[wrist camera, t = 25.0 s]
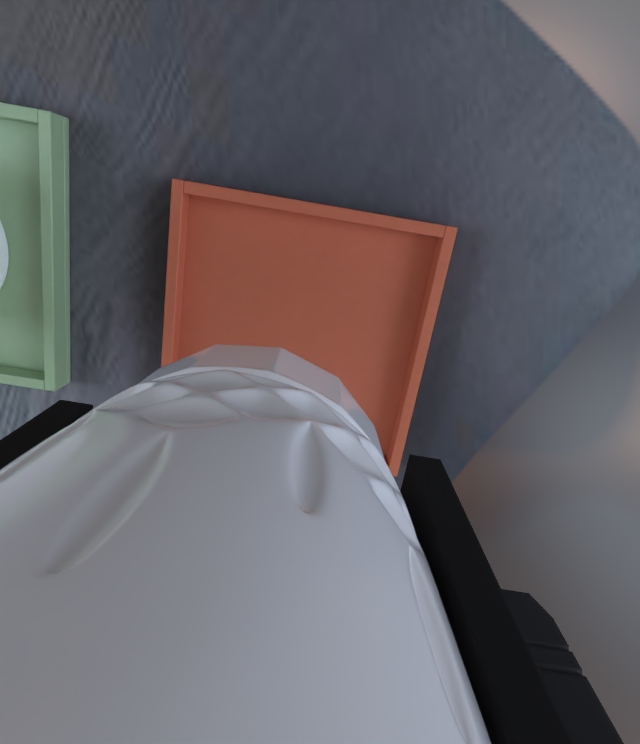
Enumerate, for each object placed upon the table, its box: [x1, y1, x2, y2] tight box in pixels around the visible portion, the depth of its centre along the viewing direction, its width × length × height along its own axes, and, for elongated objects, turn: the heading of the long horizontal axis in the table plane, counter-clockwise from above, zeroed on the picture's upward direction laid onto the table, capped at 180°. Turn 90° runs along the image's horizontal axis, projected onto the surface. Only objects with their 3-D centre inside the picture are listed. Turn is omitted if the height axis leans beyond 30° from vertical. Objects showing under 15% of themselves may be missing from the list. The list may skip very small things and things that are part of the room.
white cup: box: [0, 344, 492, 744], centre depth 7 cm, size 8×8×10 cm
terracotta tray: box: [161, 178, 458, 476], centre depth 26 cm, size 14×14×2 cm
